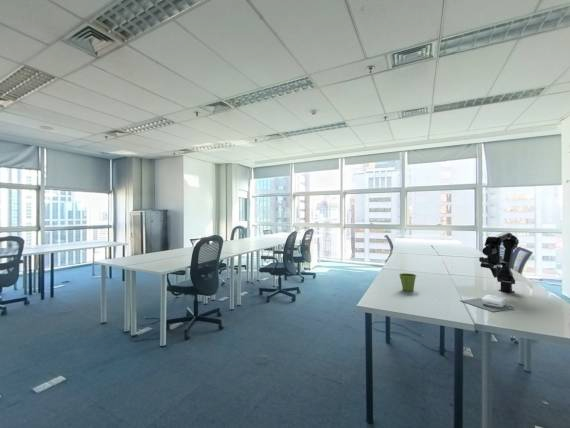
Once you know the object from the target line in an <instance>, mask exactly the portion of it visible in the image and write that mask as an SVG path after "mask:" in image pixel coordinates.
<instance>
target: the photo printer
mask: <svg viewBox="0 0 570 428" xmlns="http://www.w3.org/2000/svg"><path fill="white" fill-rule="evenodd" d="M481 299H482V303H483V304H485V305H488V306H492V307H498V308H502V307H503V306H506V304H507V303H508V300H507V298H506V297H504V296H499V295H494V294H486V295H485V296H483V297H482V298H481Z"/></svg>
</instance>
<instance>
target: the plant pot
mask: <svg viewBox="0 0 570 428" xmlns="http://www.w3.org/2000/svg"><path fill="white" fill-rule="evenodd" d="M398 276H399V278H400V281H401V287H402V290H403V291H404V292H413V291H414V289H415V282H416V278H417V274H414V273H406V272H405V273H404V272H403V273H398Z"/></svg>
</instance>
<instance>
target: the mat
mask: <svg viewBox="0 0 570 428" xmlns="http://www.w3.org/2000/svg"><path fill="white" fill-rule="evenodd" d="M460 302H461V303H465V304H468V305H470V306H474V307H477V308H479V309H482V310H485V311H489V312H492V313H495V312H496V313H497V312H503V311H508V310H514V309H515V308H513V307H512V306H507V305H504V306H503V307H502V308H498V307H492V306H488V305H485V304H483V303H482V298H480V297H478V298H470V299H469V298H468V299H462V300H460Z"/></svg>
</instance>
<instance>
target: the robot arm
mask: <svg viewBox="0 0 570 428" xmlns="http://www.w3.org/2000/svg"><path fill="white" fill-rule="evenodd" d="M519 244H520V240H519V239H518V237H517V236H515V235H513V234H512V233H511V232H506V231H503V232H501V233H498V234H496V235H488V236H487V237H486V239H485V243H484V247H483V248H482V250H481V251H482V254H483V255H484V256H486V257H483V256H480V257H479V258H478V259H479V260H478V261H479V262H480V265H479V266H480V267H481V268H485V269H489V270H490V271H491V273H492V276H493V278H496V280H497V282H498V283H500V289H498V291H500V292H504V293H507V294H508V293H515V291H514V290H513V285H516V279H515V277H514V274H513V271H512V270H511V269H512V268H511V267H512V263H513V256H514V251H515V250H516V249H517V248H518V245H519ZM501 245H503V248H504V252H503V253H504V254H503V256H501ZM502 257H503V260H501V259H502Z"/></svg>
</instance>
